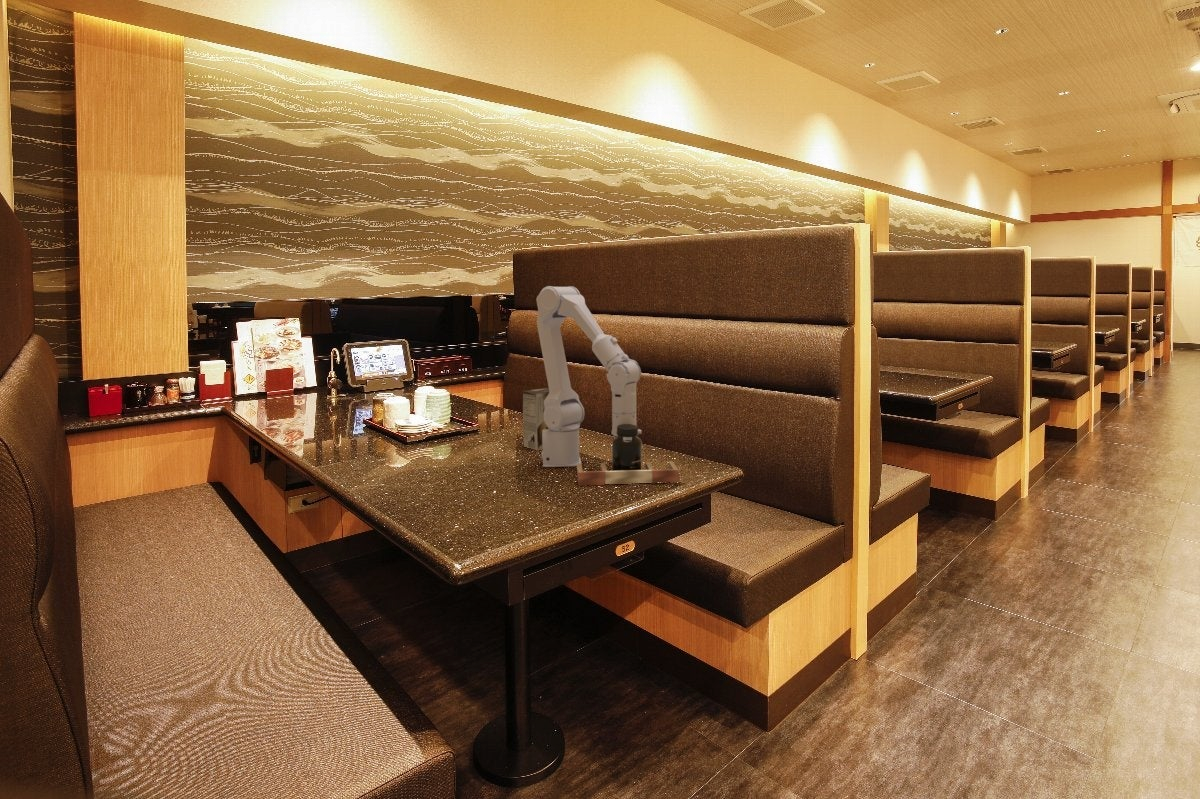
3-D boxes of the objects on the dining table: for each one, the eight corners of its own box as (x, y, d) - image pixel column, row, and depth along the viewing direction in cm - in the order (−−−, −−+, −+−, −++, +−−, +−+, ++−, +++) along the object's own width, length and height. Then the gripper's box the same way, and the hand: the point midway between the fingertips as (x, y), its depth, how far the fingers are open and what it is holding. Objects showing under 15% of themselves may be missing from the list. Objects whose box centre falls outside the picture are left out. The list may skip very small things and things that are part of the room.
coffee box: (547, 442, 199) (546, 387, 197) (562, 446, 195) (561, 389, 192) (522, 448, 193) (521, 390, 190) (537, 451, 188) (536, 392, 186)
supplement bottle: (639, 482, 156) (640, 431, 153) (609, 480, 158) (609, 430, 155) (642, 471, 163) (643, 423, 160) (614, 469, 164) (614, 421, 161)
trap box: (578, 485, 154) (578, 472, 153) (577, 475, 162) (577, 463, 162) (678, 483, 155) (678, 470, 155) (672, 473, 163) (672, 461, 163)
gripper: (645, 417, 155) (645, 475, 157) (637, 406, 170) (637, 460, 172) (613, 417, 155) (614, 476, 157) (609, 407, 169) (609, 461, 171)
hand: (624, 468), depth 164 cm, fingers closed, pressing on supplement bottle
